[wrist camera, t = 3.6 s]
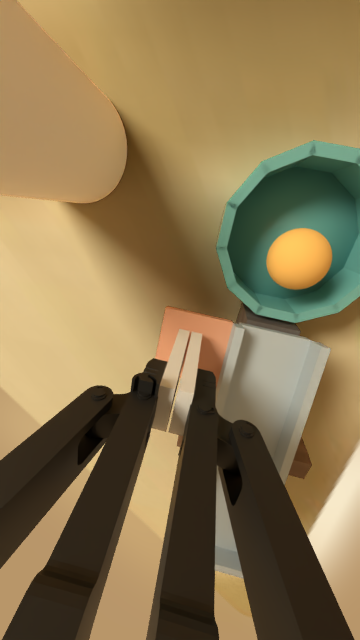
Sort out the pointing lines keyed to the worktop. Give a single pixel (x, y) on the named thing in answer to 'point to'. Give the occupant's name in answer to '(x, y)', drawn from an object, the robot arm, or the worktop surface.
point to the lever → (251, 392)
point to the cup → (52, 119)
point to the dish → (291, 213)
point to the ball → (299, 258)
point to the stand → (247, 316)
